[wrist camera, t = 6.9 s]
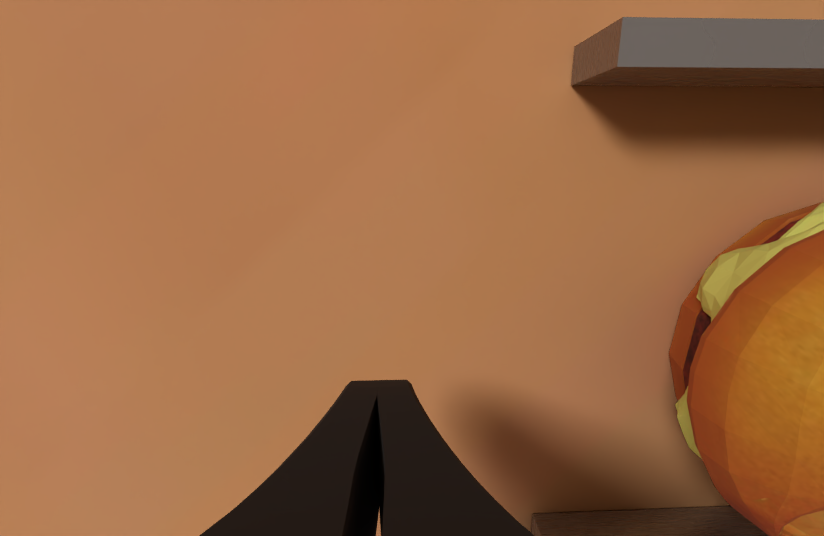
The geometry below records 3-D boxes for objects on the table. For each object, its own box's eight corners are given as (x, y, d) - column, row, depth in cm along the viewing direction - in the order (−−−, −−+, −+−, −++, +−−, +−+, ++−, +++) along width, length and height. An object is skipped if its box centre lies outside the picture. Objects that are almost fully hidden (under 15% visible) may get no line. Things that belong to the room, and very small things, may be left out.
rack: (890, 519, 17) (1000, 600, 14) (530, 535, 16) (562, 622, 13) (1061, 51, 12) (1279, 16, 9) (574, 46, 12) (638, 7, 9)
